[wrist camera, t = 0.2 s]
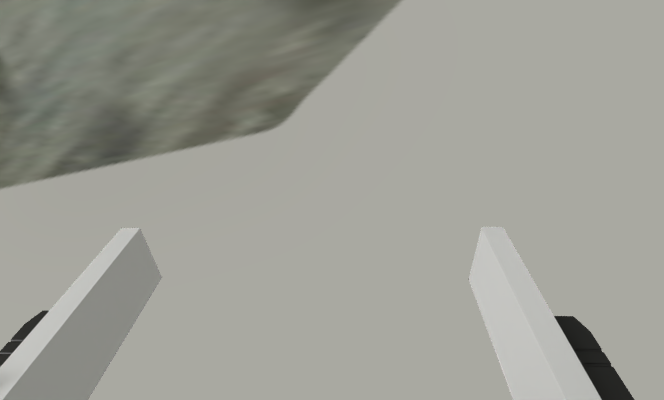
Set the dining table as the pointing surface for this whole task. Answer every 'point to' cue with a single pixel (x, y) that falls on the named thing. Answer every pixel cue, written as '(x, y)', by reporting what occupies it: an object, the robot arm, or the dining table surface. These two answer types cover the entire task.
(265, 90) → the dining table surface
